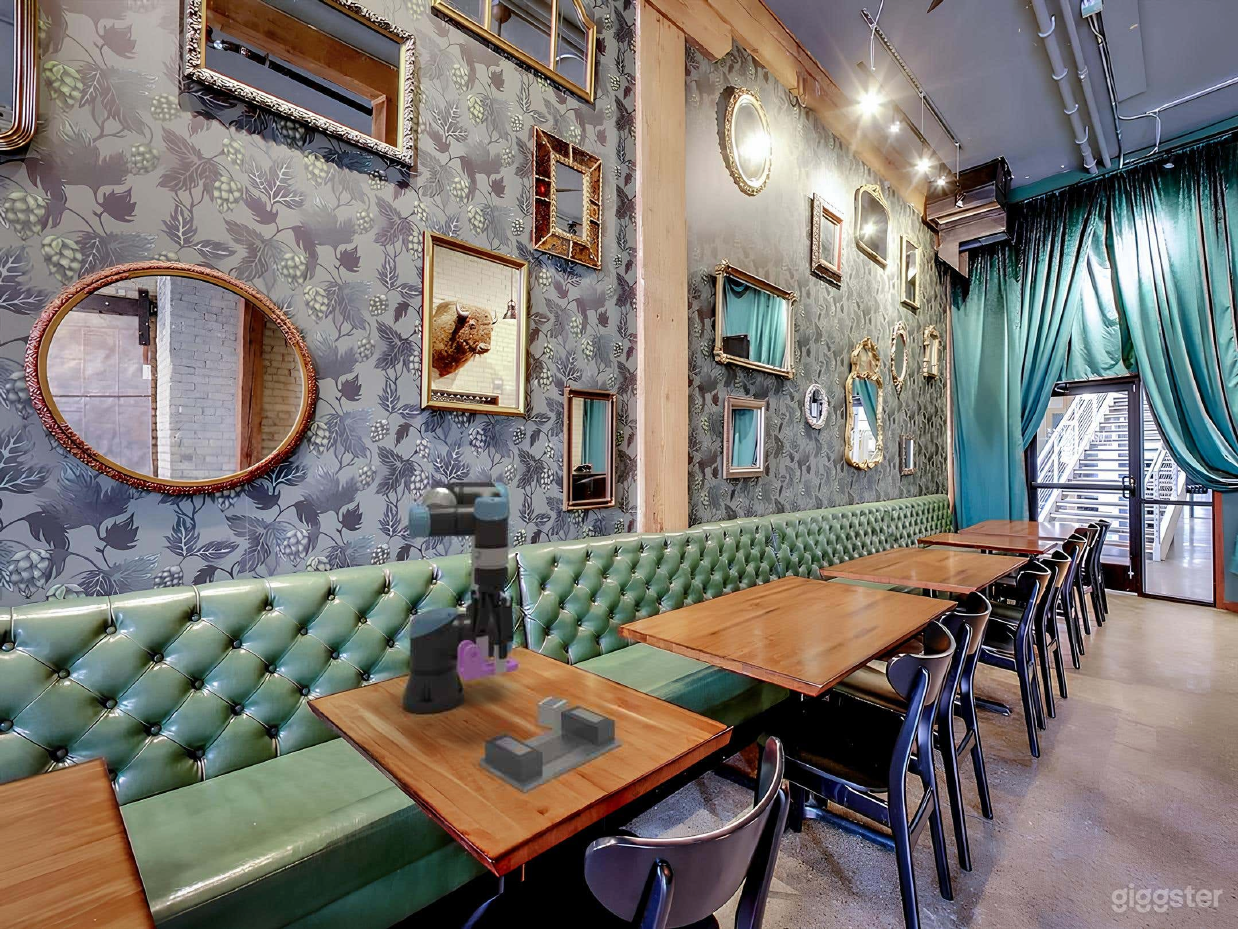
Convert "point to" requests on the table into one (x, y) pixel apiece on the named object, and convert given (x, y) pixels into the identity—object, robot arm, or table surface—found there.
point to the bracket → (477, 662)
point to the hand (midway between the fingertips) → (491, 669)
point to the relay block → (551, 712)
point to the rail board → (550, 749)
